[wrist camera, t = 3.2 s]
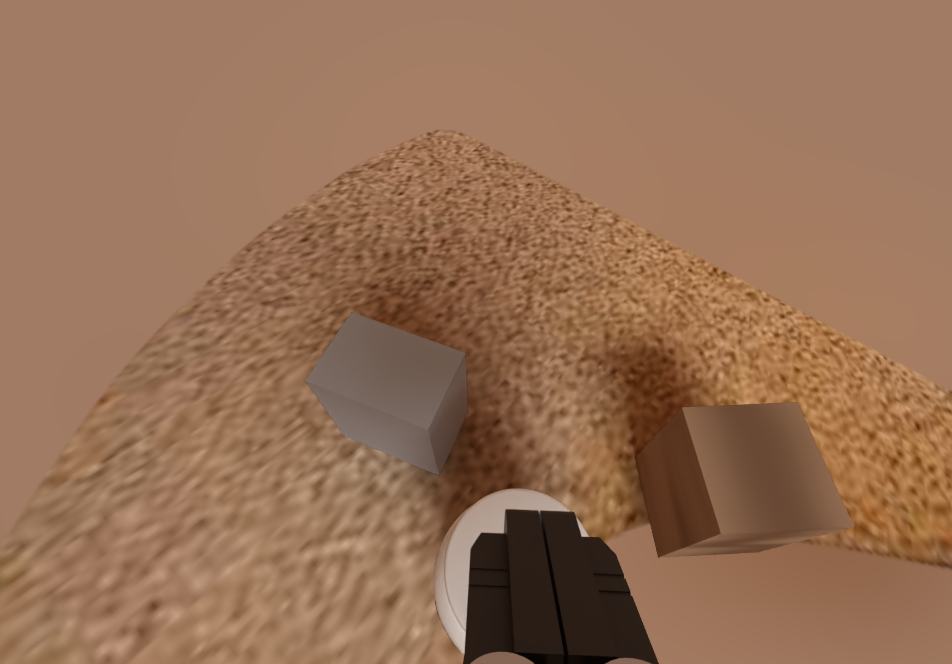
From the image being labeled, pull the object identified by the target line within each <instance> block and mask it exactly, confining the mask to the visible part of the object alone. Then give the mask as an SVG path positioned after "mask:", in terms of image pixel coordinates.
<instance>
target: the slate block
mask: <svg viewBox="0 0 952 664" xmlns="http://www.w3.org/2000/svg"><path fill="white" fill-rule="evenodd" d="M305 381H306V383H307V384H308V386H309V387H310V388H311V390H312V391H313V393H314V394H315V395H316V397H317V398H318V400H319V401H320V403H321V404H322V405H323V407H324V408H325V410H326V411H327V413H328V414H329V415H330V417H331V418H332V420H333V421H334V422H335V424H336V425H337V427H338V428H339V430H340V431H341V432H342V434H343V435H344V436H346V437H348V438H351V439H353V440H355V441H358V442H360V443H363V444H365V445H367V446H370V447H372V448H374V449H377V450H379V451H382V452H384V453H386V454H389V455H391V456H393V457H396V458H398V459H400V460H403V461H405V462H408V463H410V464H412V465H415V466H417V467H419V468H422V469H424V470H427V471H429V472H431V473H434V474H436V475H438V476H440V473H441V471H442V469H443V467H444V464H445V462H446V460H447V458H448V456H449V453H450V451H451V449H452V447H453V444H454V442H455V440H456V438H457V435H458V433H459V431H460V429H461V426H462V424H463V422H464V420H465V418H466V415H467V413H468V401H467V378H466V354H465V352H462V351H460V350H457V349H454V348H451V347H448V346H446V345H443V344H440V343H437V342H434V341H431V340H429V339H426V338H423V337H420V336H417V335H415V334H412V333H409V332H406V331H403V330H401V329H398V328H395V327H392V326H389V325H387V324H384V323H381V322H378V321H375V320H373V319H370V318H367V317H364V316H361V315H359V314H356V313H353V312H351V314H350V315H349V317H348V318H347V320H346V321H345V322H344V324H343V325H342V327H341V328H340V330H339V331H338V333H337V334H336V336H335V337H334V339H333V340H332V342H331V343H330V345H329V346H328V348H327V349H326V351H325V352H324V354H323V355H322V356H321V358H320V359H319V361H318V362H317V364H316V365H315V367H314V368H313V370H312V371H311V373H310V374H309V376H308V377H307V379H306V380H305Z"/></svg>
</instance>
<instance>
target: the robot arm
mask: <svg viewBox="0 0 952 664" xmlns="http://www.w3.org/2000/svg"><path fill="white" fill-rule="evenodd" d="M463 664H659V663H658V661H657V658H656V656H655V653H654V650H653V648H652V645H651V643H650V640H649V638H648V635H647V633H646V630H645V628H644V625H643V622H642V620H641V617H640V615H639V612H638V610H637V607H636V605H635V602H634V600H633V597H632V596H631V594H630V589H629V587H628V584H627V582H626V579H624V574H623V572H622V569H621V566H620V564H619V561H618V559H617V556H616V554H615V553H614V552H613V551H612V550H611V549H610V548H609V547H608V546H607V545H606V544H605V543H604V542H603V541H602V540H601V538H600V537H582V535H581V532H580V529H579V526H578V522H577V519H576V516H575V513H574V512H569V511H545V510H540V513H539V511H538V510H519V509H505V518H504V533H484V532H481V533H480V535H479V536H478V538H477V539H476V541H475V542H474V544H473V545H472V547H471V549H470V566H469V584H468V601H467V618H466V635H465V653H464V661H463Z"/></svg>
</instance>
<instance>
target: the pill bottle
mask: <svg viewBox="0 0 952 664" xmlns="http://www.w3.org/2000/svg"><path fill="white" fill-rule="evenodd" d="M505 509H519V510H538V511H539V513H540V510H545V511H569V512H571V511H570V510H569V509H568V508H567V507H566V506H565V505H563V504H562V503H561V502H559V501H558V500H556V499H554V498H553V497H551V496H549V495H546V494H544V493H542V492H538V491H535V490H530V489H520V488H515V489H505V490H501V491H497V492H494V493H492V494H489V495H487V496H485V497H483V498H482V499H480V500H479V501H477V502H476V503H475V504H474V505H472V506H471V507H469V508H468V509H466V510H465V511H464V512H463V513H462V514H461V515H460V516H459V517H458V518H457V519H456V521H455V522H454V523H453V525H452V526H451V527H450V529H449V530H448V532H447V534H446V535H445V537H444V539H443V541H442V544H441V546H440V549H439V552H438V555H437V559H436V563H435V571H434V597H435V604H436V609H437V613H438V616H439V618H440V620H441V622H442V625H443V627H444V629H445V631H446V632H447V634H448V636H449V637H450V639H451V640H452V641H453V643H454V644H455V645H456V646H457V648H458V649H459V650H460V651H461V652H462V653H463V654H464V653H465V635H466V618H467V601H468V584H469V566H470V549H471V547H472V545H473V544H474V542H475V541H476V539H477V538H478V536H479V535H480V533H481V532H484V533H504V518H505ZM576 519H577V522H578V526H579V529H580V532H581V535H582V537H589V535H588V534H587V532H586V530H585V528H584V527H583V525H582V524H581V522H580V521H579V520H578V518H577V517H576Z"/></svg>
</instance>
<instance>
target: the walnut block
mask: <svg viewBox="0 0 952 664" xmlns="http://www.w3.org/2000/svg"><path fill="white" fill-rule="evenodd" d="M635 460H636V465H637V469H638V473H639V477H640V482H641V486H642V490H643V494H644V499H645V503H646V507H647V511H648V516H649V520H650V525H651V529H652V533H653V538H654V542H655V546H656V550H657V555H658V558H661V557H679V556H698V555H717V554H736V553H755V552H761V551H764V550H768V549H772V548H776V547H779V546H783V545H787V544H791V543H795V542H799V541H802V540H806V539H810V538H814V537H818V536H821V535H825V534H829V533H833V532H837V531H840V530H844V529H848V528H852V527H854V525H853V523H852V521H851V519H850V516H849V514H848V512H847V510H846V508H845V505H844V503H843V501H842V499H841V497H840V495H839V492H838V490H837V488H836V486H835V484H834V481H833V479H832V477H831V475H830V473H829V470H828V468H827V466H826V464H825V462H824V460H823V457H822V455H821V453H820V451H819V449H818V446H817V444H816V442H815V440H814V438H813V435H812V433H811V431H810V429H809V427H808V425H807V422H806V420H805V418H804V416H803V414H802V411H801V409H800V407H799V405H798V403H797V402H789V403H767V404H745V405H723V406H702V407H682V408H681V409H680V410H679V411H678V412H677V413H676V414H675V415H674V416H673V418H672V419H671V420H670V421H669V422H668V423H667V424H666V425H665V426H664V427H663V428H662V429H661V430H660V431H659V433H658V434H657V435H656V436H655V437H654V438H653V439H652V440H651V441H650V442H649V443H648V444H647V445H646V446H645V448H644V449H643V450H642V451H641V452H640V453H639V454H638V455H637V456H636V457H635Z"/></svg>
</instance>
